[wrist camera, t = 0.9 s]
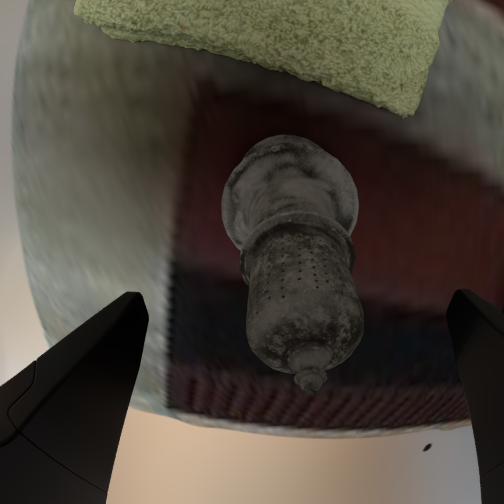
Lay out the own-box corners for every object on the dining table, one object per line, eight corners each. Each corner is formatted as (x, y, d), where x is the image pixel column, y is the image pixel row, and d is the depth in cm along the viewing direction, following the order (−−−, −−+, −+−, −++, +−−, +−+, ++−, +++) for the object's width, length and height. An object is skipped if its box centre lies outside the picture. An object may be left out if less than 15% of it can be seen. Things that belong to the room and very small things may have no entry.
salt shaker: (222, 135, 14) (112, 291, 4) (339, 125, 14) (490, 257, 4) (239, 237, 17) (205, 445, 7) (341, 228, 17) (409, 428, 7)
